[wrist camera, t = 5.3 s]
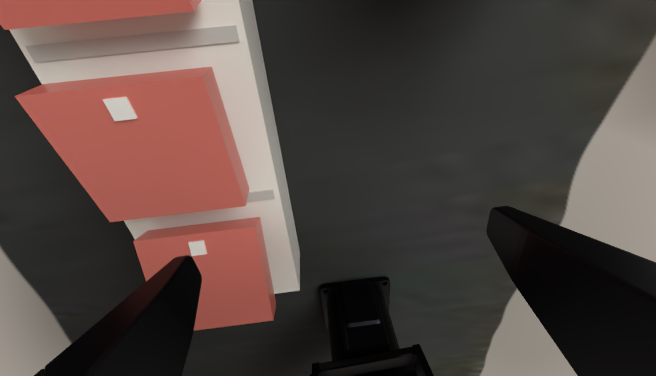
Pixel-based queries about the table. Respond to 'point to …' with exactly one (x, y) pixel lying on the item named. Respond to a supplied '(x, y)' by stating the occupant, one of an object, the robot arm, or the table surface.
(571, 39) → the table surface
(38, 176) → the table surface
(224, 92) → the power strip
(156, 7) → the rocker
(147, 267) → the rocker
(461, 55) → the table surface
